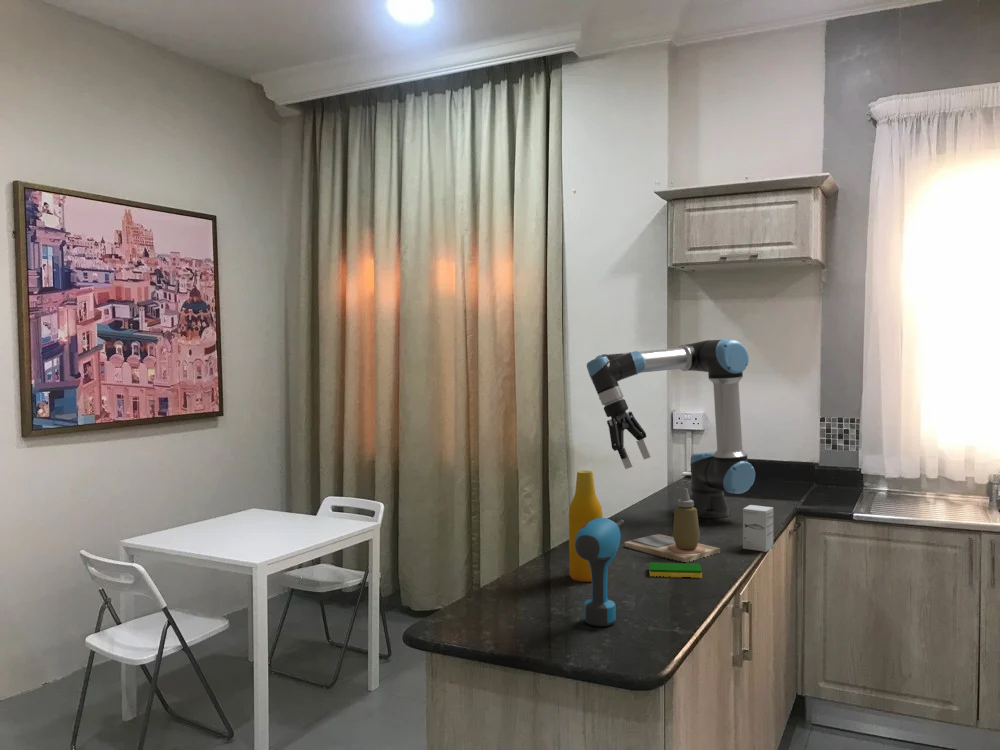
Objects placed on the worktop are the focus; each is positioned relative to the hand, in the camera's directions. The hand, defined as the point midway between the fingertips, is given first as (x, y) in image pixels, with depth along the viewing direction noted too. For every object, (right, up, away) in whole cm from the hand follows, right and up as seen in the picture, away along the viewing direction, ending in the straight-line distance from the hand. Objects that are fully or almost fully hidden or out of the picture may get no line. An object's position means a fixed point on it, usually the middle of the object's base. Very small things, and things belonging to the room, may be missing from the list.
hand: (638, 463), depth 247 cm
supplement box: (+34, -25, -13) cm, 44 cm away
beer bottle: (-21, -27, -39) cm, 52 cm away
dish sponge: (+3, -27, -37) cm, 46 cm away
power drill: (-20, -28, -69) cm, 77 cm away
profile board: (+8, -25, -13) cm, 29 cm away
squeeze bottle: (+11, -24, -18) cm, 32 cm away
